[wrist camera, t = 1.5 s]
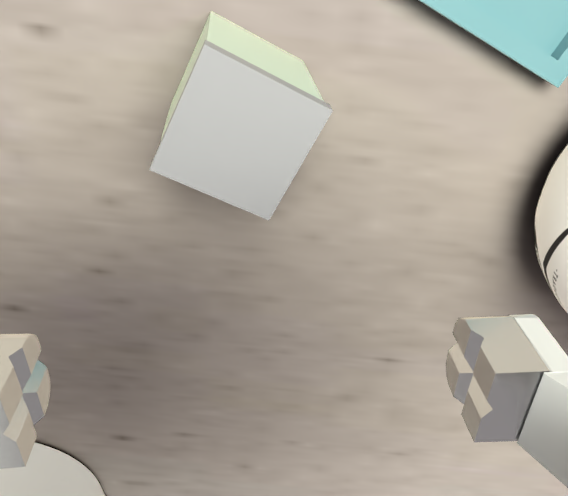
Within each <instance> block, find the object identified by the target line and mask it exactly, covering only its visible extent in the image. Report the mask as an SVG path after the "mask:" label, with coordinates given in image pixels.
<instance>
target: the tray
mask: <svg viewBox="0 0 568 496" xmlns="http://www.w3.org/2000/svg"><path fill="white" fill-rule="evenodd" d="M418 1H420V2H422V3H423V4H425V5H426V6H428V7H429V8H431V9H433V10H434V11H436V12H437V13H439V14H440V15H442V16H444V17H445V18H447V19H448V20H450V21H452V22H453V23H455V24H456V25H458V26H459V27H461V28H463V29H464V30H466V31H467V32H469V33H471V34H472V35H474V36H475V37H477V38H478V39H480V40H482V41H483V42H485V43H486V44H488V45H489V46H491V47H493V48H494V49H496V50H497V51H499V52H501V53H502V54H504V55H505V56H507V57H508V58H510V59H512V60H513V61H515V62H516V63H518V64H520V65H521V66H523V67H524V68H526V69H527V70H529V71H531V72H532V73H534V74H535V75H537V76H538V77H540V78H542V79H543V80H545V81H547V82H549V83H550V84H552V85H554V86H556V87H559V86H560V85H561V84H562V82H563V81H564V80H565V78H566V77H567V76H568V0H418Z"/></svg>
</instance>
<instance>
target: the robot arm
mask: <svg viewBox="0 0 568 496" xmlns="http://www.w3.org/2000/svg"><path fill="white" fill-rule="evenodd" d="M453 335H454V337H455V339H456V341H457V343H456V344H455V345H454V346H452V347H451V348H450V349H449V350H448V355H447V360H446V375H447V380H448V384H449V387H450V390H451V392H452V394H453V396H454V397H455V398H456V399H458V400H459V401H460V402H462V403H463V404H464V407H463V410H462V414H461V415H462V417H463V419H464V421H465V423H466V426H467V428H468V430H469V432H470V434H471V437H472V439H473V441H474V442H498V441H518V442H517V444H519V445H520V446H521V447H522V448H523V449H524V450H525V451H527V452H528V453H529V454H530V455H531V456H532V457H533V458H534V459H536V460H537V461H538V462H539V463H540V464H541V465H542V466H544V467H545V468H546V469H547V470H548V471H549V472H550V473H552V474H553V475H554V476H555V477H556V478H557V479H558V480H559V481H561V482H562V483H563V484H564V485H565V486H566V487H567V488H568V356H567V355H566V353H565V352H564V351H563V349H562V348H561V347H560V345H559V344H558V343H557V341H556V340H555V339H554V337H553V336H552V335H551V333H550V332H549V331H548V329H547V328H546V327H545V325H544V324H543V323H542V321H541V320H540V319H539V317H537V316H536V315H534V314H520V315H508V316H490V317H467V318H458V320H457V321H456V323H455V326H454V330H453ZM41 350H42V349H41V346H40V343H39V340H38V337H37V336H36V335H34V334H0V496H105V494H104V492H103V490H102V488H101V486H100V484H99V482H98V480H97V479H96V477H95V476H94V475H93V474H92V473H91V472H90V471H89V470H88V469H87V468H86V467H85V466H84V465H83V464H81V463H80V462H79V461H77V460H76V459H74V458H72V457H71V456H69V455H67V454H65V453H63V452H61V451H59V450H56V449H54V448H51V447H48V446H45V445H42V444H39V443H35V440H36V437H37V434H36V431H35V428H34V424H36V423H37V422H38V421H39V420H40V419H42V418H43V417H44V416H45V413H46V410H47V407H48V404H49V398H50V390H51V386H50V376H49V372H48V369H47V367H46V366H45V365H44V364H43V363H41V362H40V361H39V360H38V357H39V355H40V353H41Z"/></svg>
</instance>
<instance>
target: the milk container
mask: <svg viewBox="0 0 568 496" xmlns="http://www.w3.org/2000/svg"><path fill="white" fill-rule="evenodd" d="M534 242H535V250H536V256H537V259H538V262H539V265H540V267H541V270H542V272H543V274H544V276H545V279H546V281H547V283H548V285H549V287H550V289H551V290H552V292H553V294H554V295H555V297H556V298H557V300H558V302H559V303H560V305H561V306H562V307H563V309H564V310H565V311H566V312H567V313H568V143H567V144H566V145H565V147H564V148H563V149H562V151H561V152H560V153H559V155H558V157H557V158H556V160H555V161H554V163H553V164H552V166H551V168H550V171H549V173H548V175H547V177H546V180H545V183H544V185H543V188H542V191H541V194H540V196H539V199H538V203H537V206H536V211H535V226H534Z"/></svg>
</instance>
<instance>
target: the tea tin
mask: <svg viewBox="0 0 568 496" xmlns="http://www.w3.org/2000/svg"><path fill="white" fill-rule="evenodd" d="M332 111H333V110H332V108H331V106H330V104H328V103H326V102H324V101H323V99H322V97H321V95H320V93H319V91H318V89H317V87H316V85H315V83H314V81H313V79H312V77H311V75H310V73H309V71H308V69H307V68H306V66H305V64H304V62H303V60H301V59H299V58H297V57H295V56H294V55H292V54H290V53H288V52H286V51H284V50H282V49H281V48H279V47H277V46H275V45H273V44H271V43H270V42H268V41H266V40H264V39H262V38H260V37H258V36H257V35H255V34H253V33H251V32H249V31H247V30H246V29H244V28H242V27H240V26H238V25H236V24H234V23H233V22H231V21H229V20H227V19H225V18H223V17H222V16H220V15H218V14H216V13H214V12H212V11H211V12H210V14H209V17H208V19H207V21H206V24H205V26H204V28H203V31H202V33H201V35H200V38H199V40H198V42H197V44H196V47H195V49H194V51H193V54H192V56H191V58H190V61H189V63H188V65H187V68H186V70H185V72H184V75H183V77H182V79H181V82H180V84H179V86H178V88H177V91H176V93H175V95H174V98H173V100H172V102H171V105H170V108H169V112H168V116H167V119H166V123H165V126H164V130H163V134H162V137H161V141H160V144H159V146H158V149H157V151H156V153H155V155H154V158H153V160H152V163H151V166H150V169H149V170H150V171H153V172H155V173H158V174H160V175H162V176H165V177H167V178H169V179H172V180H174V181H176V182H179V183H181V184H184V185H186V186H188V187H191V188H193V189H195V190H198V191H200V192H203V193H205V194H207V195H210V196H212V197H214V198H217V199H219V200H221V201H224V202H226V203H229V204H231V205H233V206H236V207H238V208H240V209H243V210H245V211H247V212H250V213H252V214H255V215H257V216H259V217H262V218H264V219H266V220H270V218H271V216H272V215H273V213H274V211H275V209H276V208H277V206H278V204H279V202H280V201H281V199H282V197H283V196H284V194H285V192H286V190H287V189H288V187H289V185H290V184H291V182H292V180H293V178H294V177H295V175H296V173H297V172H298V170H299V168H300V166H301V165H302V163H303V161H304V159H305V158H306V156H307V154H308V153H309V151H310V149H311V147H312V146H313V144H314V142H315V141H316V139H317V137H318V135H319V134H320V132H321V130H322V129H323V127H324V125H325V123H326V122H327V120H328V118H329V116H330V115H331V113H332Z"/></svg>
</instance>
